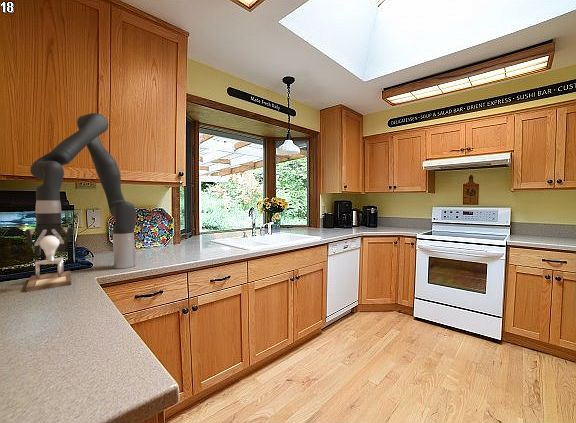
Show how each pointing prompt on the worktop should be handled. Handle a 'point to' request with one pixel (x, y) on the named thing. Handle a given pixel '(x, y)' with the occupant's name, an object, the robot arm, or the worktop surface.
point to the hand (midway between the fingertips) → (50, 254)
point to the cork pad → (50, 281)
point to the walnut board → (33, 279)
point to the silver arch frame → (60, 263)
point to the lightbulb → (49, 246)
